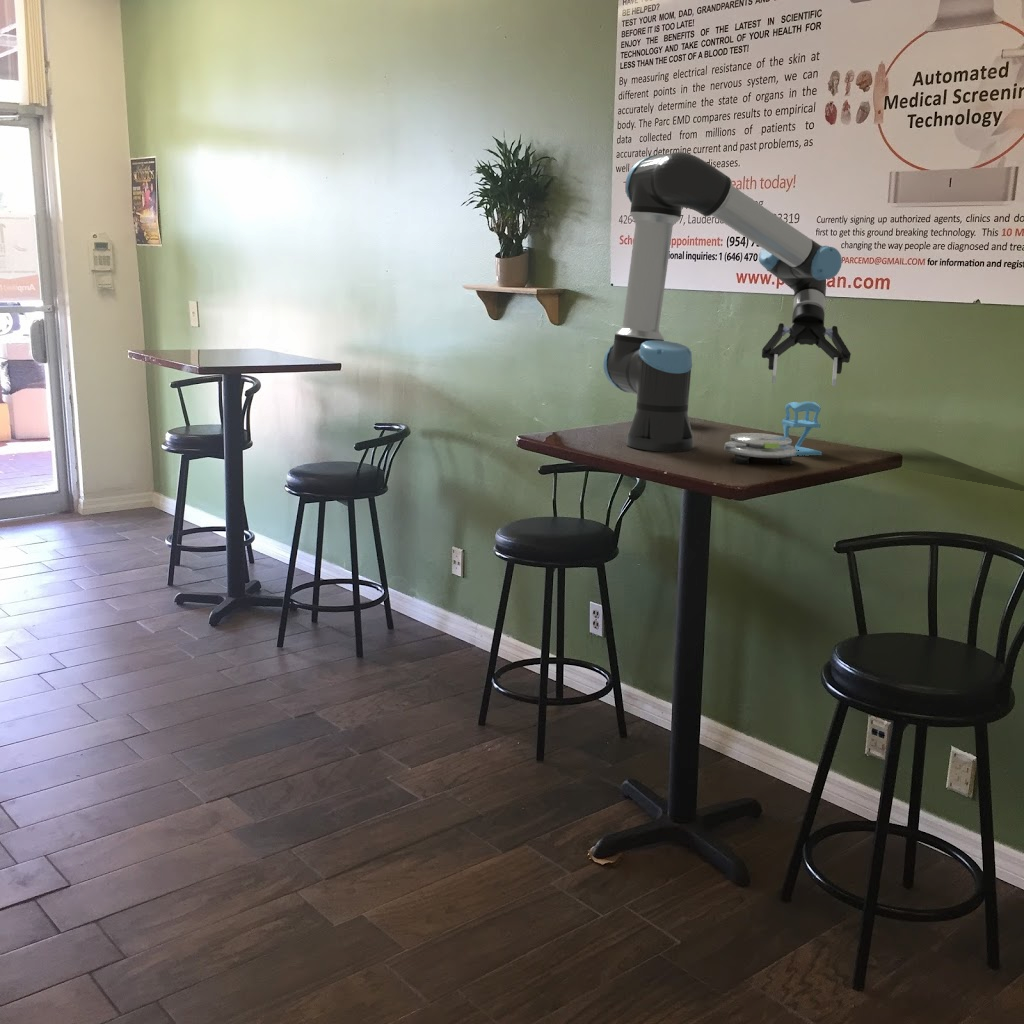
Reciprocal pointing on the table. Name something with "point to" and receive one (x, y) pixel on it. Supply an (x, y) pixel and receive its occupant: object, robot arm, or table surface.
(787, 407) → the chair
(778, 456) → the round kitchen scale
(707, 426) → the table surface
